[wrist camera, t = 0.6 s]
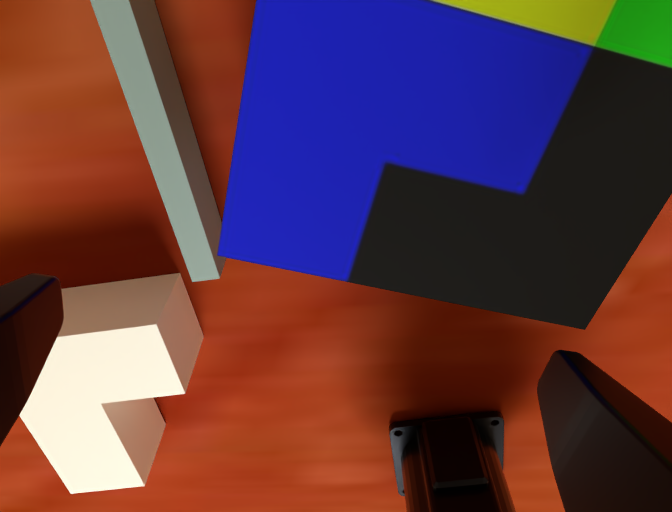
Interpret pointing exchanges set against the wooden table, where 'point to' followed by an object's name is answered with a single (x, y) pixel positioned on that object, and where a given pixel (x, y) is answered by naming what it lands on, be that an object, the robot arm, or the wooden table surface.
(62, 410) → the t block
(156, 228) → the wooden table surface
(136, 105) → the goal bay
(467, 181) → the puzzle toy
